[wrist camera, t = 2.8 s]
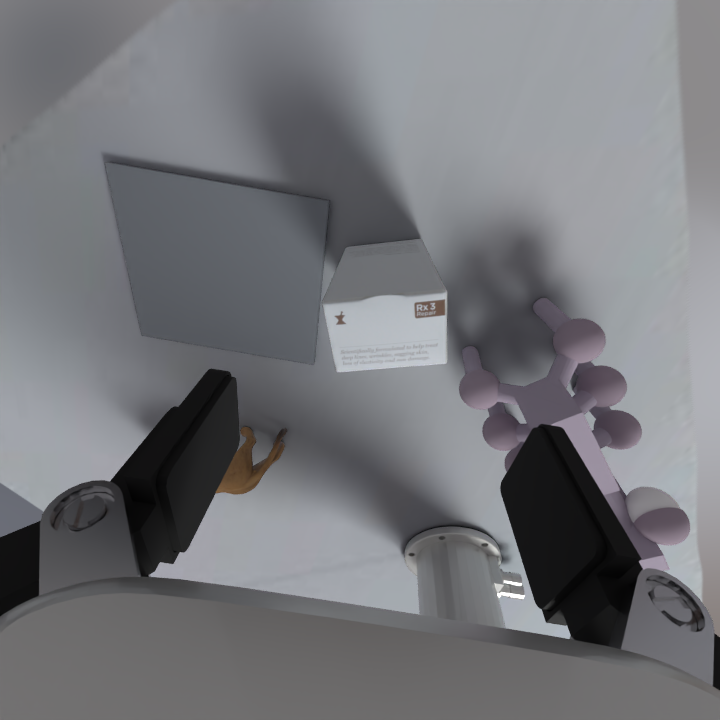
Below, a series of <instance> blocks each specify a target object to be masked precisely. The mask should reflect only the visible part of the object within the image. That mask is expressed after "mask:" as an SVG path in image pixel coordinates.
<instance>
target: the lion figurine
mask: <svg viewBox="0 0 720 720" xmlns="http://www.w3.org/2000/svg"><path fill="white" fill-rule="evenodd" d="M240 431H241V434H242V436H244V437H247V439H246V442H245V443H244V444H243V445H242V446H241V448H240V449H239V450H238V451H237V452H236V453H235V455H234V457H233V459H232V461H231V463H230V465H229V467H228V469H227V471H226V473H225V475H224V477H223V479H222V481H221V483H220V485H219V487H218V489H217V491H216V493H220V492H226V493H230V494H244V493H247V492H249V491H250V490H252V489H254V488H255V487H256V486H257V484H258V483H259V481H260V480H261V478H262V476H263V475H264V473H265V472H266V470H267V469H268V468H269V467H270V466H271V464H272V463H274V462H275V461H277V460H278V459H279V458H280V456H281V454H282V452H283V450H284V447H285V445H284V443H283V442H281V439H282V437H283V436H284V435H285V434H286V432H287V429H286V428H285V429H282V430H281V431H280V432H279V434H278V436H277V439H276V441H275V442H274V444H273V448H272V450H271V452H270V454H269V456H268V458H266V459H264V460H263V461H261V462H259V463H258V464H256V465H254V466H253V462H252V448H253V446H254V444H255V443H256V438H255V436H254V434H253V432H252V430H251V429H250V428H248V427H242V428H241V430H240Z"/></svg>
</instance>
